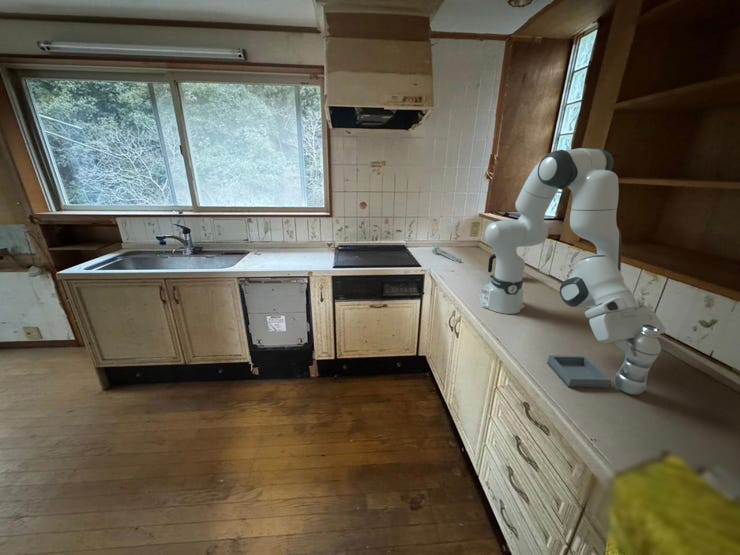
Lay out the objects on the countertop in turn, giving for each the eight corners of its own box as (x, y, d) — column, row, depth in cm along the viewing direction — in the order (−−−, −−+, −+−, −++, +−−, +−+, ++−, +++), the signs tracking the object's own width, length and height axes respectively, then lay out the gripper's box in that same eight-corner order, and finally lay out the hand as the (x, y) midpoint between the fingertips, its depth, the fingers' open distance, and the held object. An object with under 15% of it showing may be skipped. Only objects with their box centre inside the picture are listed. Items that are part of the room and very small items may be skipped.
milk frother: (509, 275, 170) (514, 251, 165) (519, 285, 155) (524, 259, 150) (484, 274, 172) (488, 250, 166) (491, 284, 157) (496, 258, 152)
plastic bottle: (627, 381, 86) (650, 321, 79) (648, 398, 79) (676, 334, 72) (606, 381, 85) (627, 321, 78) (625, 398, 79) (651, 334, 72)
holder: (546, 363, 93) (549, 355, 92) (582, 363, 93) (584, 355, 92) (568, 387, 83) (570, 378, 82) (607, 388, 83) (610, 379, 82)
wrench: (458, 267, 194) (429, 251, 217) (460, 266, 195) (430, 251, 218) (460, 256, 190) (430, 241, 213) (462, 255, 191) (432, 241, 214)
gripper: (634, 306, 88) (659, 352, 83) (579, 313, 84) (602, 362, 78) (656, 299, 83) (685, 347, 77) (598, 306, 78) (624, 358, 73)
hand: (643, 355), depth 78 cm, fingers closed on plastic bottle, 6 cm apart
